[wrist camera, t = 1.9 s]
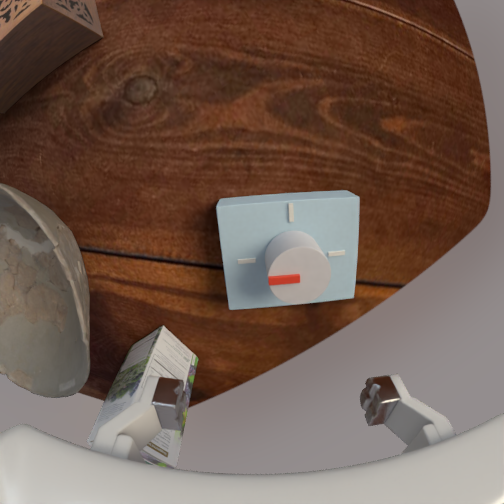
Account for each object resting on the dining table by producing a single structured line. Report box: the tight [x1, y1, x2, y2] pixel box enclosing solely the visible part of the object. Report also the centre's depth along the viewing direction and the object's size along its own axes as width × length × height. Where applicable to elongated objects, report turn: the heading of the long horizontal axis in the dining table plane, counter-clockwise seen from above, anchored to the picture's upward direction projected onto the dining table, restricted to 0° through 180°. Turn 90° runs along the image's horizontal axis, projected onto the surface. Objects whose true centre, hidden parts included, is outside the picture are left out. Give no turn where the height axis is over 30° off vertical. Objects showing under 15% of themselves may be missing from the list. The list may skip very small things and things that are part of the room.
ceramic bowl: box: [0, 183, 90, 398], centre depth 21 cm, size 22×23×10 cm
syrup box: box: [87, 326, 198, 468], centre depth 23 cm, size 6×6×14 cm
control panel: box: [216, 190, 359, 310], centre depth 24 cm, size 11×9×3 cm
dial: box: [265, 231, 331, 304], centre depth 21 cm, size 4×4×4 cm
